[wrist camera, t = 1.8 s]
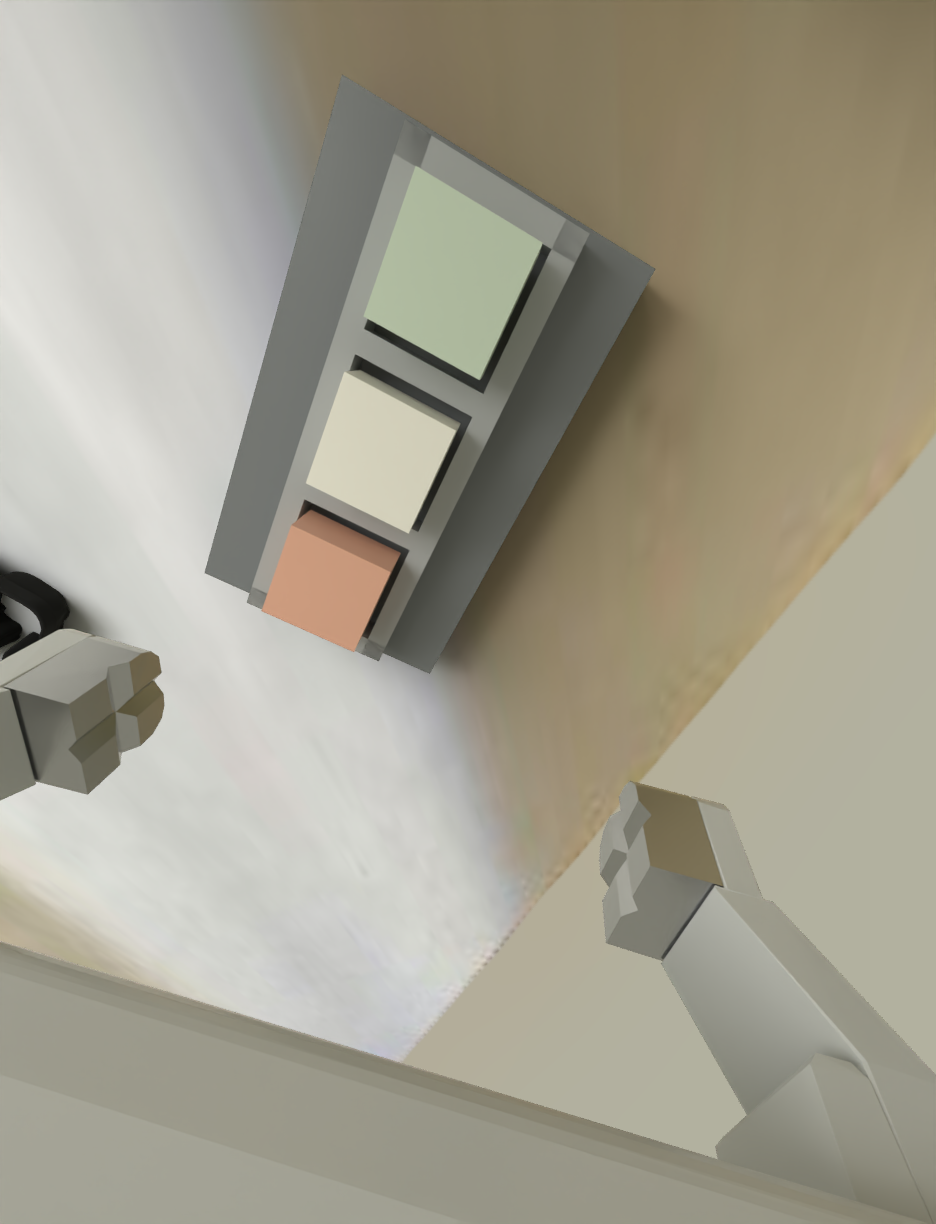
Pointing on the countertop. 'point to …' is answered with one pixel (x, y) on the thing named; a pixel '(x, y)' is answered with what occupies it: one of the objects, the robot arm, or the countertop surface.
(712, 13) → the countertop surface
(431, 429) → the cream key
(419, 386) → the keypad
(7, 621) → the egg carton
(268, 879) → the countertop surface
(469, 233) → the sage key
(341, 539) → the terracotta key
